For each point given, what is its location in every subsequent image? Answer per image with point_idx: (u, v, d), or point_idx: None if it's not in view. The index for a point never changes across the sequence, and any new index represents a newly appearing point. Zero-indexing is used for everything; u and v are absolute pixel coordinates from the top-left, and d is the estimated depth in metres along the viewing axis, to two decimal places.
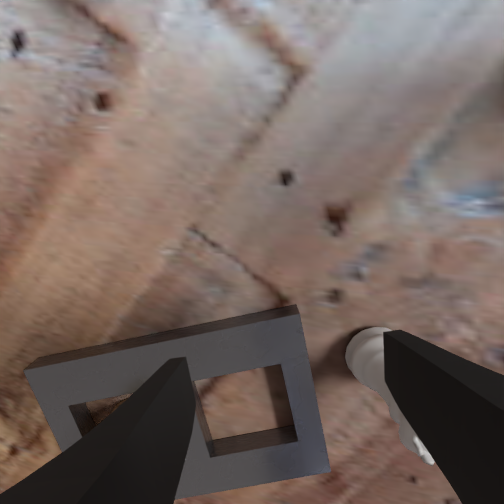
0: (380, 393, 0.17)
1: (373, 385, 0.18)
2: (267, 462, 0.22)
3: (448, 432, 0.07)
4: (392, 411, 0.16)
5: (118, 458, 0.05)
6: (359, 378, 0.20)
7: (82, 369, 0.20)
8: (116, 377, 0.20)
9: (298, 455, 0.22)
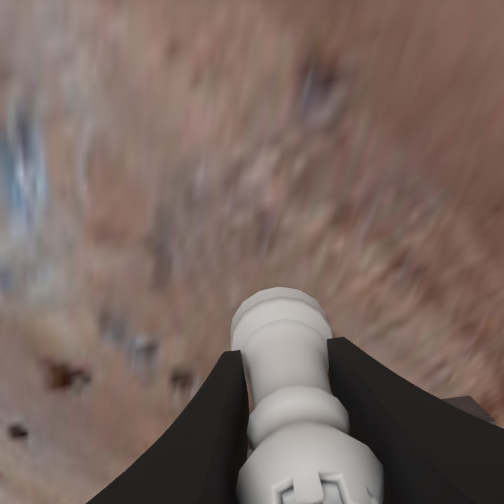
0: None
1: None
2: None
3: (369, 441, 0.07)
4: None
5: (216, 446, 0.05)
6: None
7: None
8: None
9: None
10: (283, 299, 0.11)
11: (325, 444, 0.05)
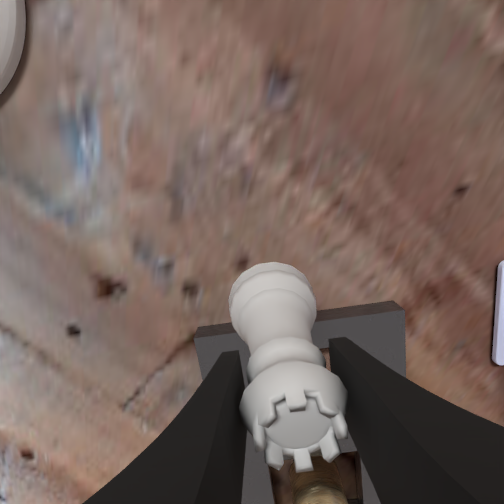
0: None
1: None
2: None
3: (371, 441, 0.07)
4: None
5: (213, 446, 0.05)
6: None
7: None
8: (252, 491, 0.21)
9: (372, 344, 0.19)
10: (278, 272, 0.13)
11: (309, 372, 0.08)
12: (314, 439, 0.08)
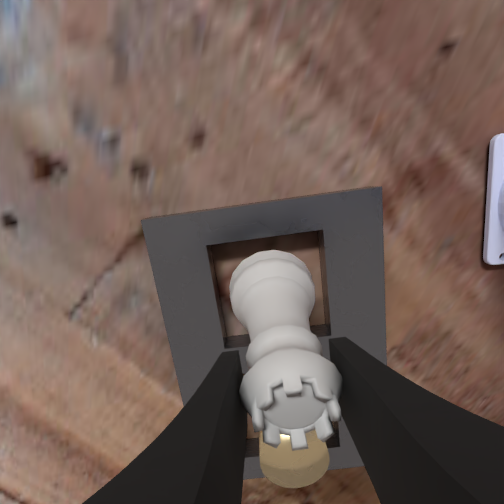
0: None
1: None
2: (350, 270, 0.17)
3: (371, 441, 0.07)
4: None
5: (213, 446, 0.05)
6: None
7: None
8: None
9: (345, 230, 0.16)
10: (278, 260, 0.13)
11: (305, 360, 0.08)
12: (309, 421, 0.08)
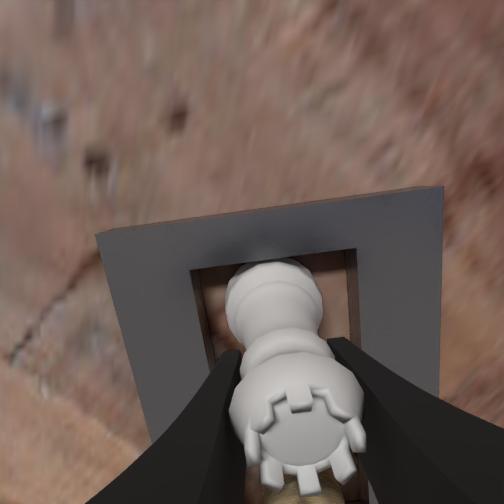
0: None
1: None
2: (393, 304, 0.12)
3: (369, 441, 0.07)
4: None
5: (216, 446, 0.05)
6: None
7: None
8: None
9: (389, 248, 0.11)
10: (280, 264, 0.11)
11: (316, 365, 0.06)
12: (323, 453, 0.06)
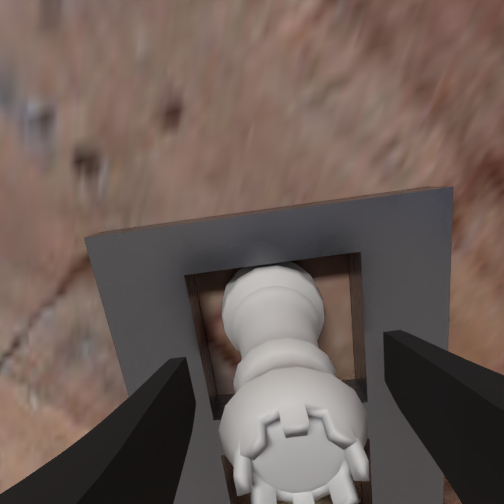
0: None
1: None
2: (399, 310, 0.11)
3: (448, 432, 0.07)
4: None
5: (118, 457, 0.05)
6: None
7: None
8: (199, 502, 0.14)
9: (394, 252, 0.11)
10: (279, 268, 0.11)
11: (313, 382, 0.06)
12: (321, 479, 0.05)
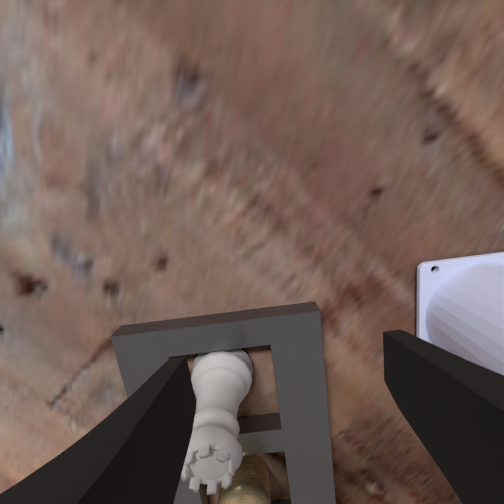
0: None
1: None
2: (295, 376, 0.19)
3: (448, 432, 0.07)
4: None
5: (118, 457, 0.05)
6: None
7: None
8: (179, 491, 0.21)
9: (290, 345, 0.19)
10: (223, 353, 0.19)
11: (215, 434, 0.13)
12: (218, 475, 0.13)
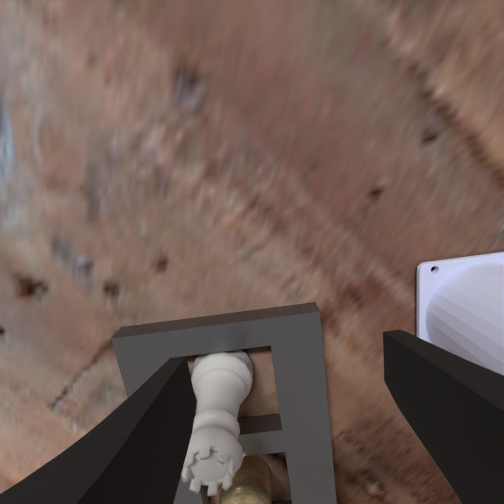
0: None
1: None
2: (296, 377, 0.19)
3: (448, 432, 0.07)
4: None
5: (118, 457, 0.05)
6: None
7: None
8: (180, 491, 0.22)
9: (290, 346, 0.19)
10: (224, 354, 0.19)
11: (216, 436, 0.13)
12: (218, 476, 0.13)
